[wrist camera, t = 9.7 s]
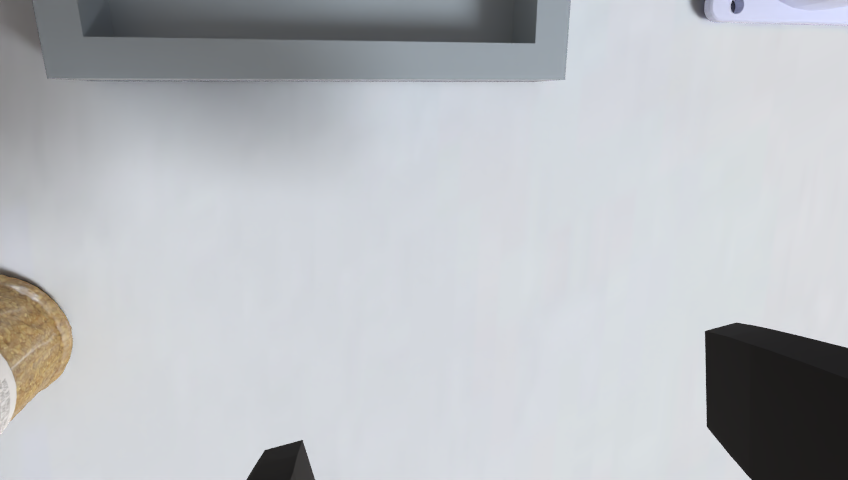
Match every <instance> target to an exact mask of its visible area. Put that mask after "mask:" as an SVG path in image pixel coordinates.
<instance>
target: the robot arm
mask: <svg viewBox="0 0 848 480" xmlns="http://www.w3.org/2000/svg"><path fill="white" fill-rule="evenodd" d="M732 1H734V2H735V7H736V8H735V11H734V12H733V13H732V11H731V7H730V5H731V3H732ZM704 13H705V15H706V18H707V19H708V20H710V21H712V22H719V23H760V24H802V25H844V26H848V0H705V5H704ZM705 349H706V402H707V427H708V429H709V430H710V431H711V432H712V433H713V435H714V436H715V437H716V438H717V440H718V441H719V442H720V443H721V445H722V446H723V447H724V448H725V450H726V451H727V452H728V453H729V454H730V456H731V457H732V458H733V459H734V460H735V461H736V462H737V464H738V465H739V466H740V467H741V468H742V469H743V471H744V472H745V473H746V474H747V475H748V476H749V477H750V478H751V479H752V480H848V348H846V347H842V346H838V345H834V344H830V343H826V342H822V341H818V340H814V339H810V338H806V337H802V336H798V335H793V334H789V333H785V332H781V331H776V330H772V329H767V328H763V327H758V326H753V325H747V324H741V323H733V324H730V325H726V326H722V327H719V328H715V329H711V330H707V331H705ZM247 480H315V479H314V475H313V472H312V469H311V466H310V463H309V459H308V456H307V453H306V450H305V446H304V443H303V440H301V441H297V442H294V443H290V444H286V445H283V446H279V447H275V448H271V449H268V450H265V451H264V453H263V454H262V456H261V457H260V459H259V460H258V462H257V463H256V465H255V467H254V468H253V470H252V472H251V473H250V475H249V477H248V478H247Z"/></svg>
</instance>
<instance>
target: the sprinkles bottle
mask: <svg viewBox="0 0 848 480" xmlns="http://www.w3.org/2000/svg"><path fill="white" fill-rule="evenodd" d="M72 344H73V338H72V332H71V326H70V324H69V322H68V320H67V318H66V316H65V314H64V313H63V312H62V310H61V309H60V308H59V306H58V305H57V303H56V302H55V301H54V300H52V299H51V298H50V297H49V296H48V295H47V294H46V293H44V292H43V291H42V290H40V289H39V288H38V287H36V286H33V285H31V284H29V283H27V282H25V281H23V280H19V279H17V278H11V277H7V276H5V275H0V434H1V433H2V432H3V431H4V429H5V428H6V427H7V425H8V423H9V422H10V421H11V420H12V419H13V418H14V417H15V416H16V414H18V413H19V412H20V411H21V410H22V409H23V408H24V407H25V405H26V404H27V403H28V402H29V401H31V400H32V398H33V397H34V396H35V395H36V394H37V393H38V392H40V391H41V390H43V389H45V388H47V387H48V386H49V385H50V384H51V383H52V382H54V381H55V380H56V379H57V378H58V377H59V376H60V375H61V374H62V373H63V371H64V369H65V367H66V364H67V363H68V361H69V359H70V355H71V351H72Z"/></svg>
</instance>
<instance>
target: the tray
mask: <svg viewBox="0 0 848 480" xmlns="http://www.w3.org/2000/svg"><path fill="white" fill-rule="evenodd" d="M32 2H33V8H34V13H35V18H36V23H37V28H38V33H39V38H40V43H41V48H42V53H43V58H44V64H45V69H46V74H47V78H53V79H70V80H87V81H420V82H537V81H552V80H565V72H566V58H567V44H568V30H569V16H570V2H571V0H32Z"/></svg>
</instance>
